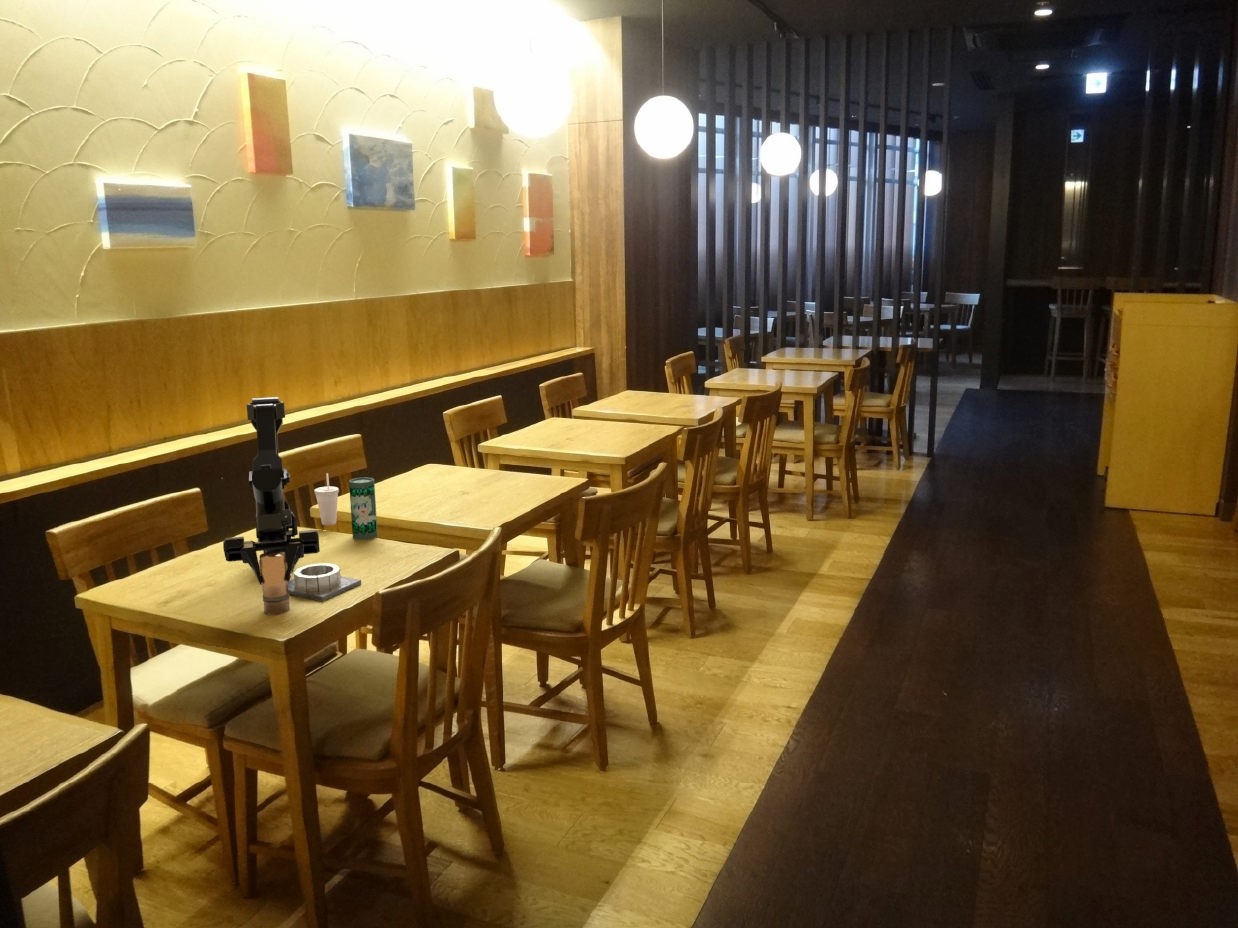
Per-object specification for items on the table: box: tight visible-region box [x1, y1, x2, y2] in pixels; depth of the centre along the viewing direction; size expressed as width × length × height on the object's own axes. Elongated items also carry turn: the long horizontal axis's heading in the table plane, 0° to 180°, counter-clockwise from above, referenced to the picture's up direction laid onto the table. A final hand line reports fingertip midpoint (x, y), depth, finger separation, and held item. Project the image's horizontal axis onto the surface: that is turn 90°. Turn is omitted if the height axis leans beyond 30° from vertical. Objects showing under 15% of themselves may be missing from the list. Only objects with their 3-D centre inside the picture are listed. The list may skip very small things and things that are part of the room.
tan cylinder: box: [259, 551, 291, 615], centre depth 202 cm, size 5×5×12 cm
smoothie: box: [313, 472, 340, 526], centre depth 264 cm, size 6×6×14 cm
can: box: [348, 477, 378, 541], centre depth 252 cm, size 6×6×15 cm
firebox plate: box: [288, 563, 362, 602], centre depth 216 cm, size 14×12×4 cm
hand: (274, 582), depth 200 cm, fingers closed on tan cylinder, 5 cm apart
